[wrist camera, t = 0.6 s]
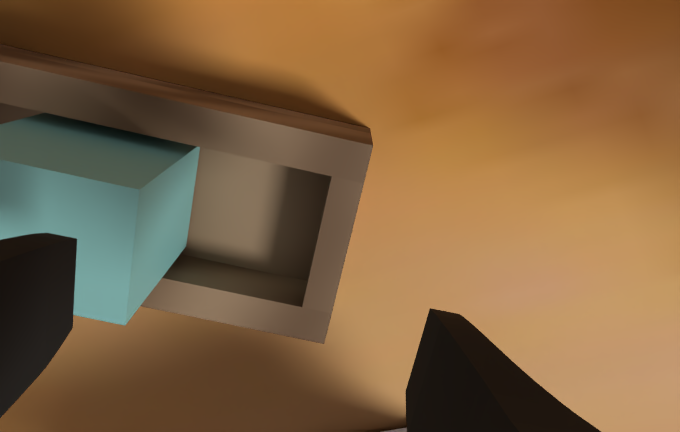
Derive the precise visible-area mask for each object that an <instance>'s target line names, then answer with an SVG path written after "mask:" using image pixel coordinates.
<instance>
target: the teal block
mask: <svg viewBox="0 0 680 432" xmlns="http://www.w3.org/2000/svg"><path fill="white" fill-rule="evenodd" d="M199 152H200V147H197V146H193V145H188V144H184V143H179V142H175V141H170V140H166V139H161V138H157V137H152V136H148V135H144V134H139V133H135V132H130V131H126V130H121V129H117V128H112V127H108V126H103V125H99V124H94V123H90V122H85V121H81V120H76V119H72V118H67V117H63V116H58V115H54V114H49V113H41V114H38V115H34V116H30V117H26V118H23V119H19V120H15V121H11V122H8V123H4V124H0V240H2V239H6V238H11V237H17V236H22V235H28V234H35V233H51V234H56V235H61V236H67V237H72V238H77V253H76V272H75V291H74V310H73V315H76V316H81V317H86V318H91V319H96V320H101V321H106V322H111V323H116V324H120V325H126V324H127V322H128V321H129V320H130V319H131V317H132V316H133V315H134V313H135V312H136V311H137V309H138V308H139V307H140V306H141V304H142V303H143V302H144V300H145V299H146V298H147V296H148V295H149V294H150V293H151V291H152V290H153V289H154V287H155V286H156V285H157V283H158V282H159V281H160V280H161V278H162V277H163V276H164V274H165V273H166V272H167V271H168V269H169V268H170V267H171V265H172V264H173V263H174V261H175V260H176V259H177V258H178V256H179V255H180V254H181V252H182V251H183V250H184V248H185V247H186V244H187V237H188V230H189V223H190V216H191V209H192V201H193V194H194V187H195V180H196V173H197V166H198V159H199Z"/></svg>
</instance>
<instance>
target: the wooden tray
mask: <svg viewBox="0 0 680 432" xmlns="http://www.w3.org/2000/svg"><path fill="white" fill-rule="evenodd" d="M41 113H49V114H54V115H58V116H63V117H67V118H72V119H76V120H81V121H85V122H90V123H94V124H99V125H103V126H108V127H112V128H117V129H121V130H126V131H130V132H135V133H139V134H144V135H148V136H152V137H157V138H161V139H166V140H170V141H175V142H179V143H184V144H188V145H193V146H197V147H200V152H199V159H198V166H197V173H196V180H195V187H194V194H193V201H192V209H191V216H190V223H189V230H188V237H187V244H186V247H185V248H184V250H183V251H182V252H181V254H180V255H179V256H178V258H177V259H176V260H175V261H174V263H173V264H172V265H171V267H170V268H169V269H168V271H167V272H166V273H165V274H164V276H163V277H162V278H161V280H160V281H159V282H158V283H157V285H156V286H155V287H154V289H153V290H152V291H151V293H150V294H149V295H148V296H147V298H146V299H145V300H144V302H143V303H142V304H141V306H143V307H148V308H152V309H157V310H162V311H167V312H172V313H177V314H182V315H186V316H191V317H196V318H201V319H206V320H211V321H216V322H220V323H225V324H230V325H235V326H240V327H245V328H250V329H254V330H259V331H264V332H269V333H274V334H279V335H284V336H288V337H293V338H298V339H303V340H308V341H313V342H318V343H322V344H324V342H325V338H326V334H327V330H328V326H329V322H330V318H331V314H332V310H333V306H334V302H335V298H336V293H337V289H338V285H339V281H340V277H341V273H342V269H343V265H344V261H345V257H346V253H347V249H348V245H349V241H350V237H351V233H352V229H353V225H354V221H355V217H356V213H357V209H358V205H359V201H360V196H361V192H362V188H363V184H364V180H365V176H366V172H367V168H368V164H369V160H370V156H371V152H372V148H373V143H372V137H371V132H370V128H366V127H361V126H357V125H353V124H348V123H344V122H339V121H335V120H331V119H326V118H322V117H317V116H313V115H309V114H304V113H300V112H296V111H291V110H287V109H282V108H278V107H274V106H269V105H265V104H260V103H256V102H252V101H247V100H243V99H239V98H234V97H230V96H225V95H221V94H217V93H212V92H208V91H203V90H199V89H195V88H190V87H186V86H182V85H177V84H173V83H168V82H164V81H160V80H155V79H151V78H146V77H142V76H138V75H133V74H129V73H125V72H120V71H116V70H111V69H107V68H103V67H98V66H94V65H89V64H85V63H81V62H76V61H72V60H68V59H63V58H59V57H54V56H50V55H46V54H41V53H37V52H32V51H28V50H24V49H19V48H15V47H11V46H6V45H2V44H0V124H4V123H8V122H11V121H15V120H19V119H23V118H26V117H30V116H34V115H38V114H41Z"/></svg>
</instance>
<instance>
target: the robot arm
mask: <svg viewBox="0 0 680 432" xmlns="http://www.w3.org/2000/svg"><path fill="white" fill-rule="evenodd" d="M76 253H77V238H72V237H67V236H61V235H56V234H51V233H35V234H28V235H22V236H17V237H11V238H6V239H2V240H0V418H1V417H2V415H3V414H4V413H5V412H6V411H7V410H8V409H9V408H10V407H11V406H12V405H13V404H14V402H15V401H16V400H17V399H18V398H19V397H20V396H21V395H22V394H23V393H24V391H25V390H26V389H27V388H28V387H29V386H30V385H31V384H32V383H33V381H34V380H35V379H36V378H37V377H38V376H39V375H40V374H41V372H42V371H43V370H44V369H45V368H46V366H47V365H48V364H49V362H50V361H51V359H52V358H53V357H54V355H55V354H56V352H57V351H58V349H59V348H60V346H61V345H62V343H63V342H64V340H65V339H66V337H67V336H68V334H69V333H70V331H71V330H72V328H73V310H74V291H75V272H76ZM406 422H407V428H401V429H395V430H389V431H382V432H601V431H599V430H598V429H597V428H595V427H594V426H592V425H591V424H589V423H588V422H587V421H585V420H584V419H582V418H581V417H579V416H578V415H577V414H575V413H574V412H573V411H571V410H570V409H569V408H567V407H566V406H565V405H563V404H562V403H561V402H560V401H558V400H557V399H556V398H555V397H553V396H552V395H551V394H550V393H549V392H547V391H546V390H545V389H544V388H542V387H541V386H540V385H539V384H538V383H536V382H535V381H534V380H533V379H532V378H531V377H529V376H528V375H527V374H526V373H525V372H524V371H522V370H521V369H520V368H519V367H518V366H517V365H516V364H515V363H514V362H512V361H511V360H510V359H509V358H508V357H507V356H506V355H505V354H504V353H503V352H502V351H501V350H499V349H498V348H497V347H496V346H495V345H494V344H493V343H492V342H491V341H490V340H489V339H488V338H487V337H485V336H484V335H483V334H482V333H481V332H480V331H479V330H478V329H477V328H476V327H475V326H473V325H472V324H471V323H470V322H469V321H468V320H466V319H465V318H464V317H462V316H461V315H460V314H456V313H451V312H446V311H441V310H435V309H430V310H429V314H428V317H427V321H426V324H425V327H424V331H423V334H422V338H421V341H420V344H419V348H418V351H417V355H416V358H415V362H414V365H413V368H412V372H411V375H410V379H409V382H408V385H407V389H406Z"/></svg>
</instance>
